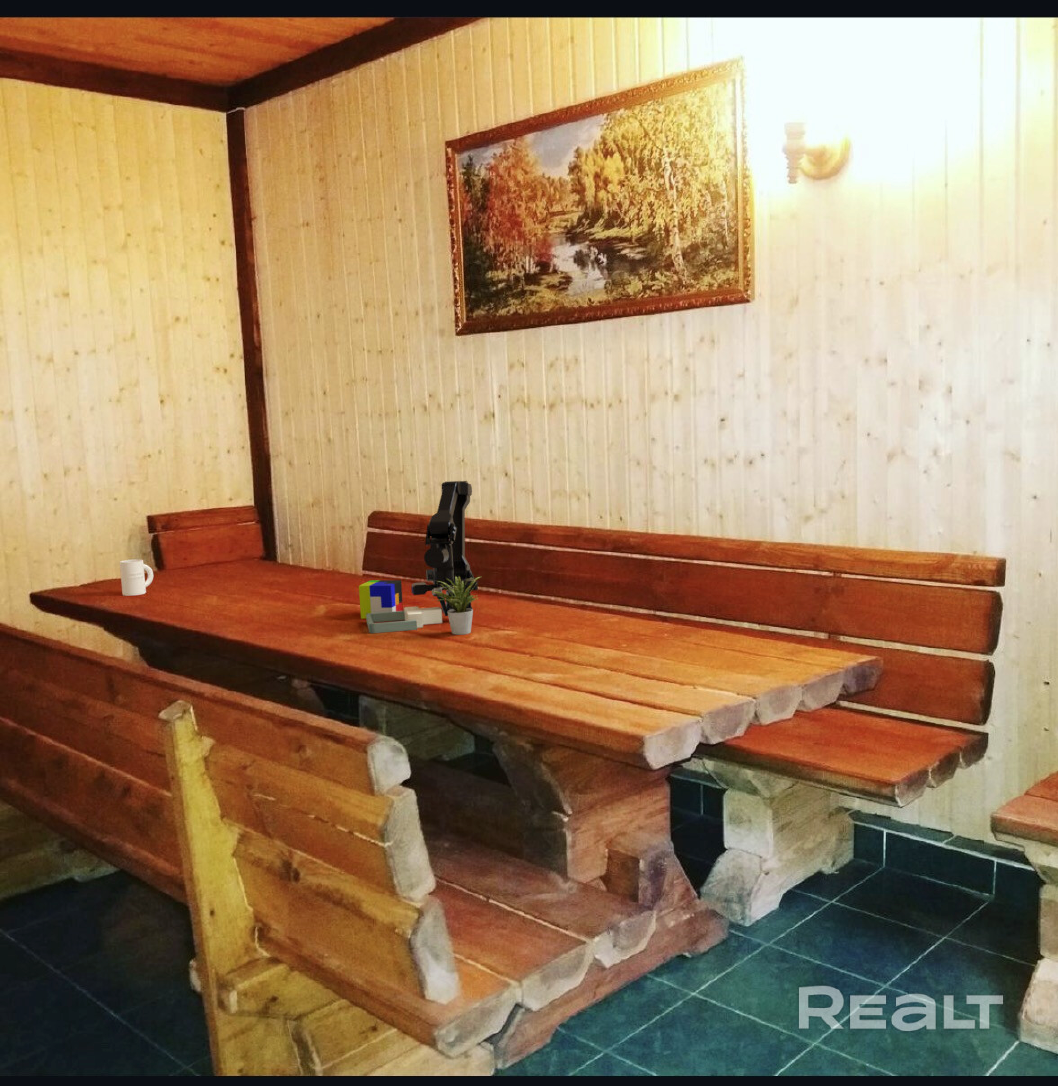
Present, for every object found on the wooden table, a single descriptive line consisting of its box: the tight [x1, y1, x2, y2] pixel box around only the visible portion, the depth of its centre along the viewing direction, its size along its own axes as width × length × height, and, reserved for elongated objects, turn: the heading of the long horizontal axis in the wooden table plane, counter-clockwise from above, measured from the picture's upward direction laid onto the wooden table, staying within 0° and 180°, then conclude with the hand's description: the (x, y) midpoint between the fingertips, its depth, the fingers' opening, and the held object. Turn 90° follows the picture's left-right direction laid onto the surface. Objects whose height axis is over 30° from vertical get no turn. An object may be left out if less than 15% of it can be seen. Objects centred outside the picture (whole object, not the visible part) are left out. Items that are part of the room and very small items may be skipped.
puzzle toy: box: [358, 579, 404, 619], centre depth 337 cm, size 10×10×10 cm
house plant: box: [430, 576, 481, 636], centre depth 306 cm, size 14×14×16 cm
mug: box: [119, 558, 154, 597], centre depth 401 cm, size 8×12×12 cm
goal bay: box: [365, 610, 418, 634], centre depth 320 cm, size 13×17×2 cm
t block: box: [403, 606, 443, 629], centre depth 322 cm, size 10×12×4 cm
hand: (446, 615), depth 323 cm, fingers closed
